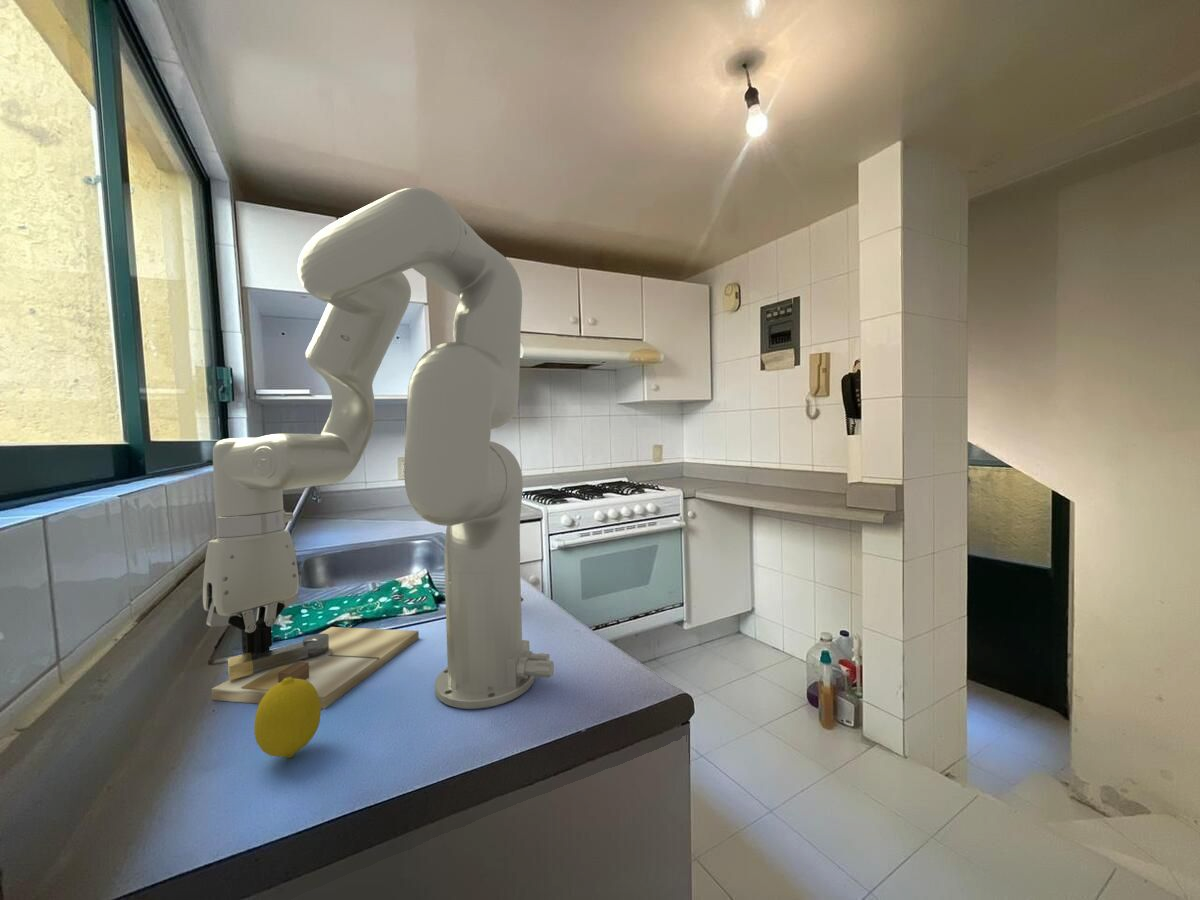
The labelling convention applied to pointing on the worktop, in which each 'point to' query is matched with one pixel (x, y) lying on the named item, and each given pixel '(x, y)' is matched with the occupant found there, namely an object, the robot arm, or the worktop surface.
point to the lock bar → (277, 656)
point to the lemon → (287, 717)
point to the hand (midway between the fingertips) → (257, 655)
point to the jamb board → (325, 665)
